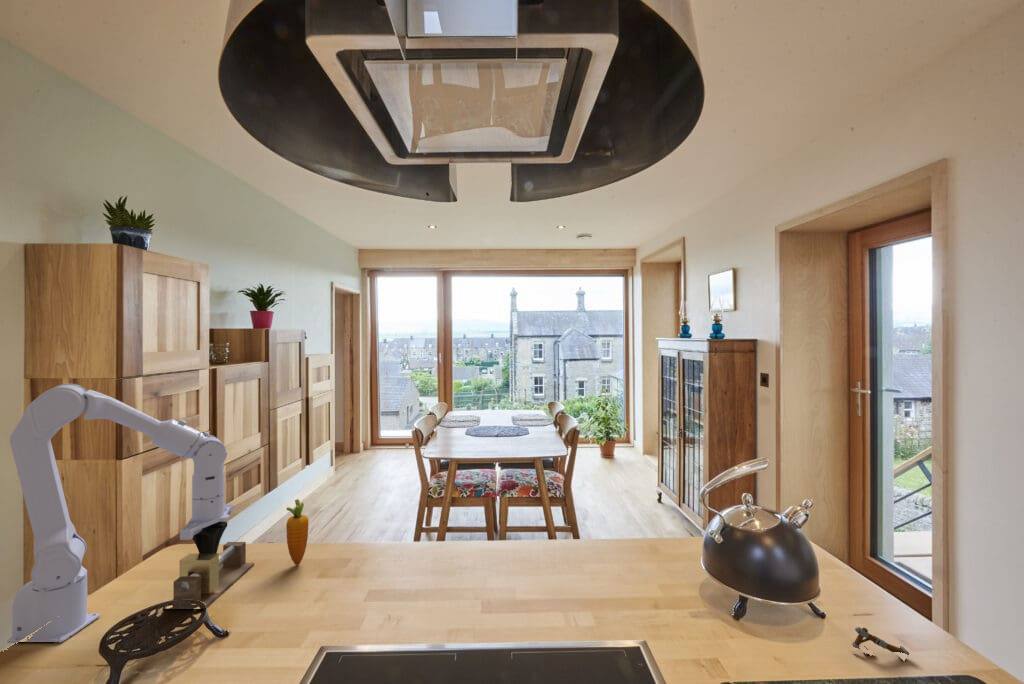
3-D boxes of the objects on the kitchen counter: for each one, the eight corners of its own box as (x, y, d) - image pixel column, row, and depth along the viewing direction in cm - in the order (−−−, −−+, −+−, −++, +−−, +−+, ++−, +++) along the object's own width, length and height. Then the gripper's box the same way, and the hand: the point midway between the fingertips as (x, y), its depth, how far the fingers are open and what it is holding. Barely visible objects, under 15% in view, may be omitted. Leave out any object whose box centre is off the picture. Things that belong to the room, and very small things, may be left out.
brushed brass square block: (209, 593, 94) (209, 560, 94) (179, 593, 93) (179, 560, 93) (218, 585, 97) (218, 553, 97) (189, 585, 96) (189, 553, 96)
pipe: (189, 592, 90) (189, 581, 90) (178, 592, 90) (178, 581, 90) (241, 550, 108) (241, 541, 108) (232, 550, 108) (232, 541, 108)
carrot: (303, 570, 106) (303, 504, 106) (281, 570, 106) (281, 504, 106) (312, 560, 111) (313, 497, 111) (292, 560, 111) (292, 497, 111)
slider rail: (204, 609, 90) (204, 581, 90) (162, 610, 90) (163, 581, 90) (254, 565, 108) (254, 541, 108) (219, 565, 108) (219, 541, 108)
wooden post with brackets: (842, 644, 80) (854, 621, 79) (890, 668, 78) (903, 645, 78) (848, 651, 78) (860, 627, 78) (897, 676, 77) (910, 652, 76)
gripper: (205, 507, 91) (205, 577, 91) (246, 484, 105) (246, 544, 105) (169, 507, 91) (168, 577, 91) (215, 484, 105) (215, 544, 105)
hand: (208, 560), depth 98 cm, fingers closed
